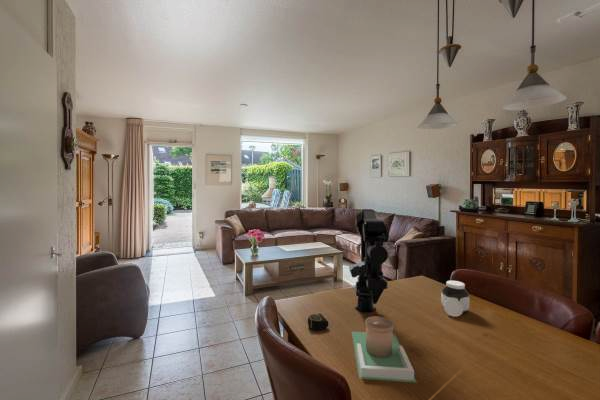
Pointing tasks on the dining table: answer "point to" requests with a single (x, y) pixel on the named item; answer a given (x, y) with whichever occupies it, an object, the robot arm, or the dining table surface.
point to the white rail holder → (386, 372)
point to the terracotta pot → (379, 336)
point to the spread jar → (455, 298)
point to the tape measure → (317, 321)
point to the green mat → (375, 361)
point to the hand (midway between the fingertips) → (372, 299)
